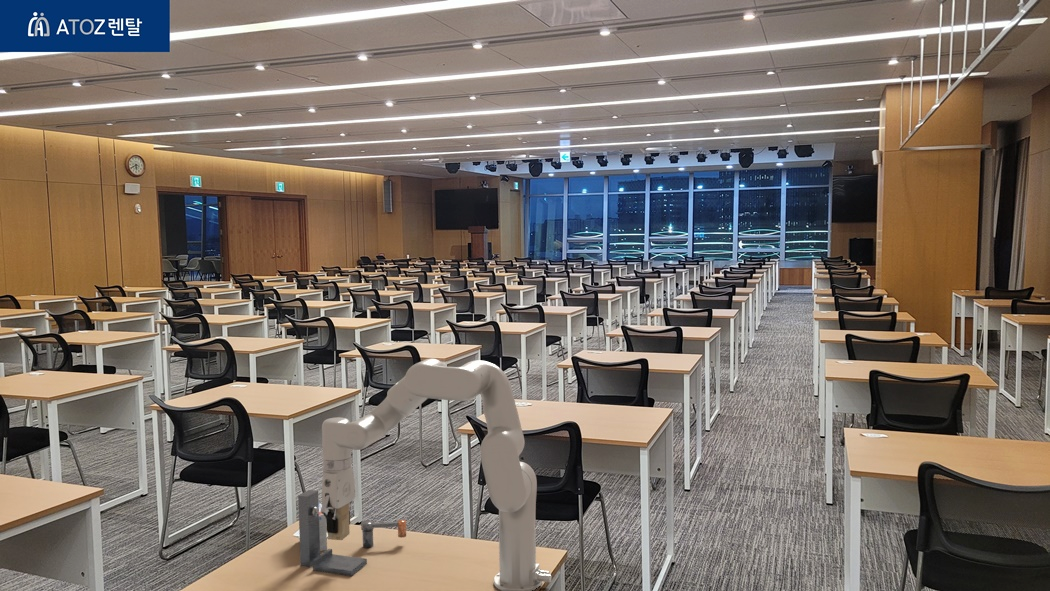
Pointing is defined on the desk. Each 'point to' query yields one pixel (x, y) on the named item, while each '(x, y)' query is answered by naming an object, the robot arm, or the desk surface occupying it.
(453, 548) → the desk surface
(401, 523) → the lever
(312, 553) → the press
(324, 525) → the light bulb box
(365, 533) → the lever post
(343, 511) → the box
